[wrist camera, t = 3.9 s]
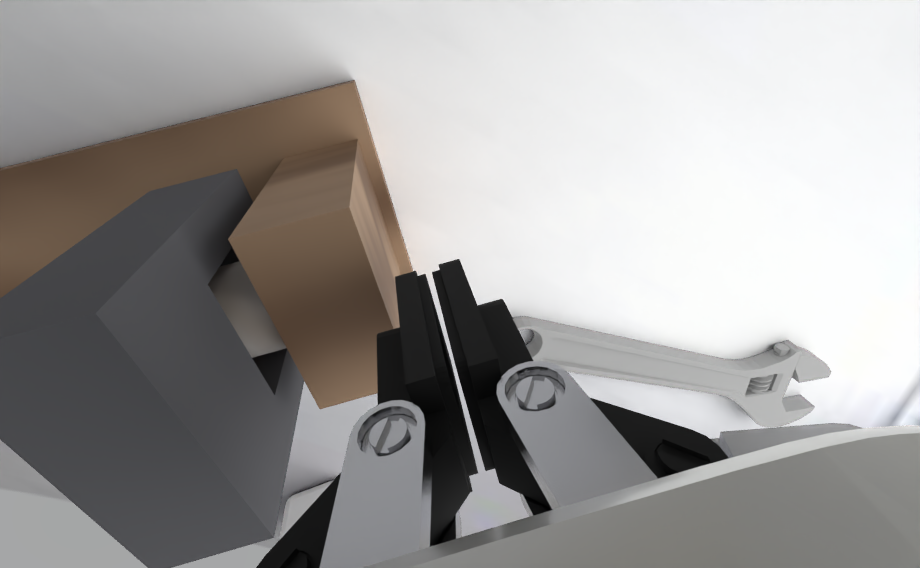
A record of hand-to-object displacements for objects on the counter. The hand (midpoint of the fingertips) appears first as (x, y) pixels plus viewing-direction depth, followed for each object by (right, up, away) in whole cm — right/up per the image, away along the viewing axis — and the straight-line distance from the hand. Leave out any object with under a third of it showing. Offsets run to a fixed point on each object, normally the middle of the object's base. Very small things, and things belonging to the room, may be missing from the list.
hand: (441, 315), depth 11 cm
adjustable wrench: (+15, -4, +18) cm, 23 cm away
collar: (-8, +1, +5) cm, 10 cm away
